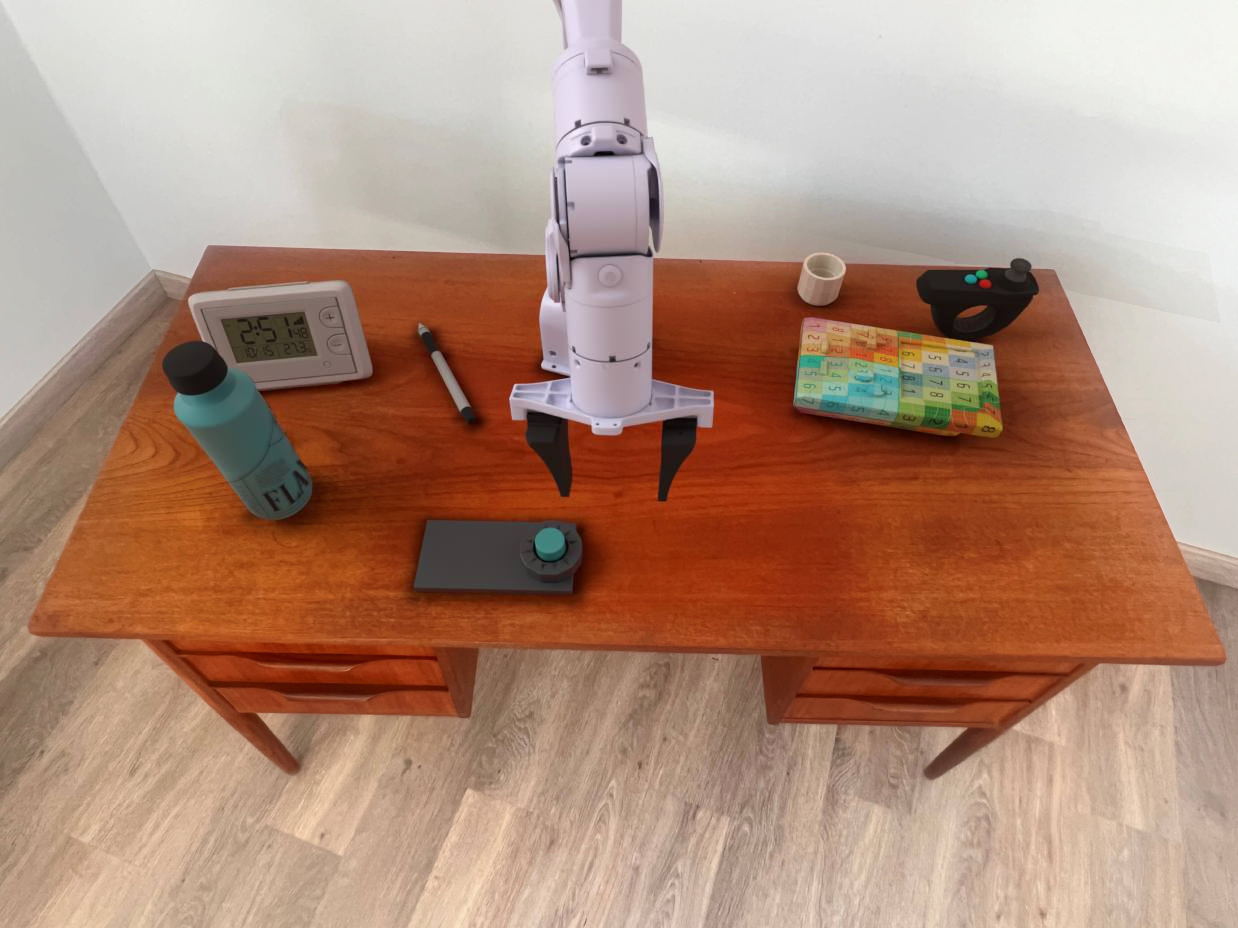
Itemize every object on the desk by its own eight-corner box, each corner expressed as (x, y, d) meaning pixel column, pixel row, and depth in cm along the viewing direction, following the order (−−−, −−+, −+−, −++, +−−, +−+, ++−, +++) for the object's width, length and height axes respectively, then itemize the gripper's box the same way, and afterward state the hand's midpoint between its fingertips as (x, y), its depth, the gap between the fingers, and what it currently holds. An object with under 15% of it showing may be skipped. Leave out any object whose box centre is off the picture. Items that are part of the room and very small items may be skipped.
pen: (467, 427, 77) (464, 419, 76) (414, 328, 85) (412, 320, 84) (478, 422, 77) (476, 414, 76) (425, 324, 86) (422, 316, 84)
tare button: (535, 561, 65) (533, 552, 64) (537, 535, 67) (536, 527, 66) (564, 561, 65) (563, 553, 64) (566, 536, 67) (565, 527, 65)
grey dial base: (415, 592, 66) (409, 579, 64) (429, 524, 70) (423, 510, 68) (580, 595, 66) (579, 583, 64) (584, 527, 70) (583, 513, 68)
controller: (1012, 347, 83) (1055, 278, 75) (902, 345, 84) (933, 276, 75) (1002, 321, 86) (1042, 251, 78) (895, 319, 86) (924, 249, 78)
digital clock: (216, 397, 79) (167, 324, 70) (246, 337, 84) (204, 262, 76) (365, 404, 78) (334, 332, 70) (386, 343, 84) (360, 269, 75)
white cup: (793, 302, 88) (800, 274, 84) (800, 277, 90) (808, 248, 87) (833, 311, 87) (842, 283, 83) (840, 285, 89) (848, 257, 86)
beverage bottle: (285, 542, 69) (181, 403, 52) (235, 510, 71) (121, 366, 55) (335, 492, 72) (252, 347, 56) (287, 463, 74) (193, 314, 58)
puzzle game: (805, 311, 80) (997, 339, 78) (796, 342, 84) (979, 369, 81) (797, 391, 73) (1007, 424, 71) (788, 421, 77) (987, 453, 75)
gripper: (491, 368, 47) (514, 521, 56) (718, 376, 46) (706, 530, 55) (513, 316, 53) (531, 462, 62) (717, 321, 52) (706, 470, 60)
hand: (614, 491), depth 59 cm, fingers open, 7 cm apart
